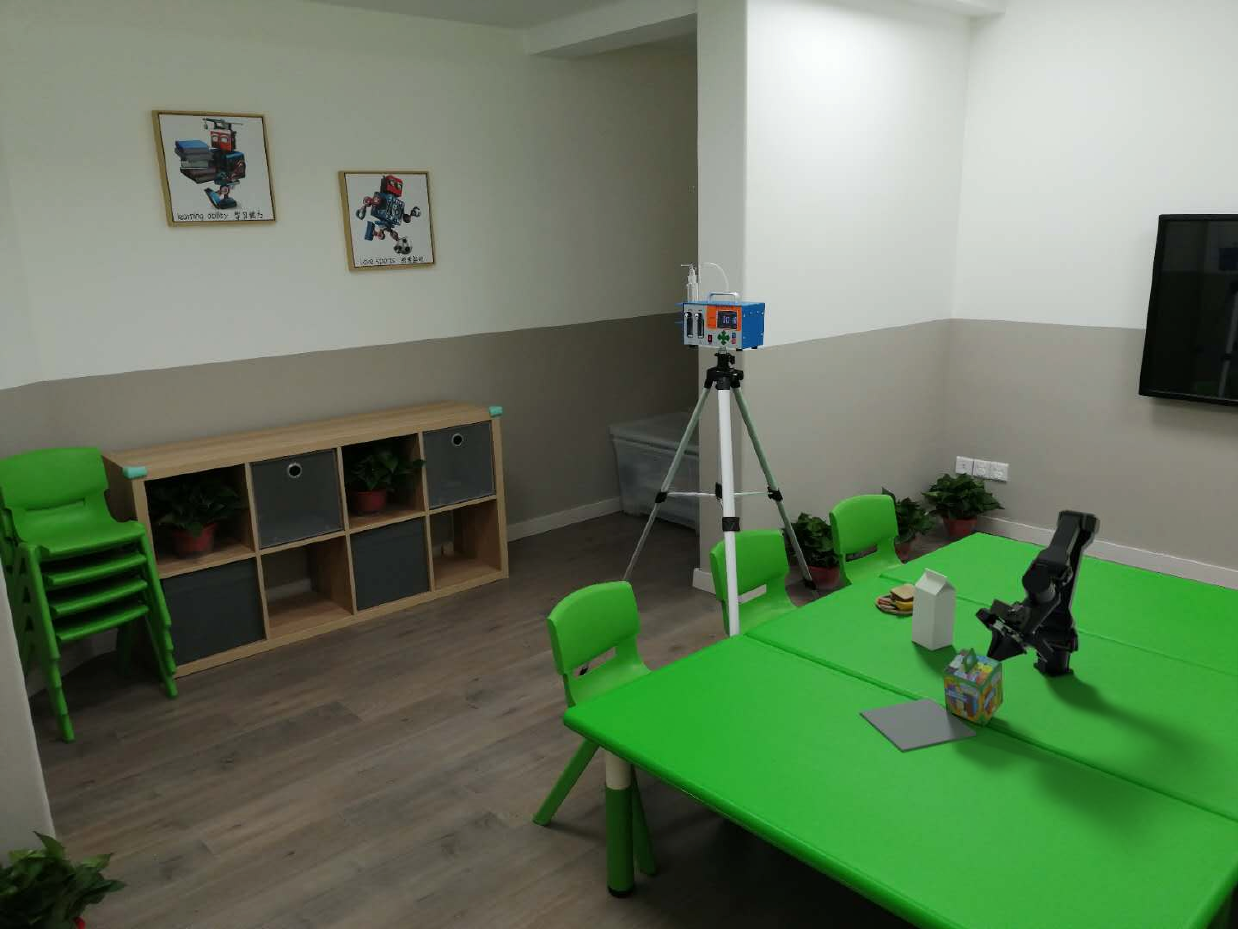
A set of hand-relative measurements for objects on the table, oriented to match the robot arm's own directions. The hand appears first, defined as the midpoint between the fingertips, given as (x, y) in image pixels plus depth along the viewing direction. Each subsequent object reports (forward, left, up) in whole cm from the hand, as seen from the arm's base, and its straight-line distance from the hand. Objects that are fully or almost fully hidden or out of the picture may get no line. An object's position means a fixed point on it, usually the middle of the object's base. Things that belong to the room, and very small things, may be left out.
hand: (987, 663), depth 202 cm
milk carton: (-10, -33, -12) cm, 36 cm away
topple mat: (+16, -1, -12) cm, 20 cm away
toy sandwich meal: (-16, -56, -12) cm, 59 cm away
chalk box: (+2, 0, -10) cm, 10 cm away
